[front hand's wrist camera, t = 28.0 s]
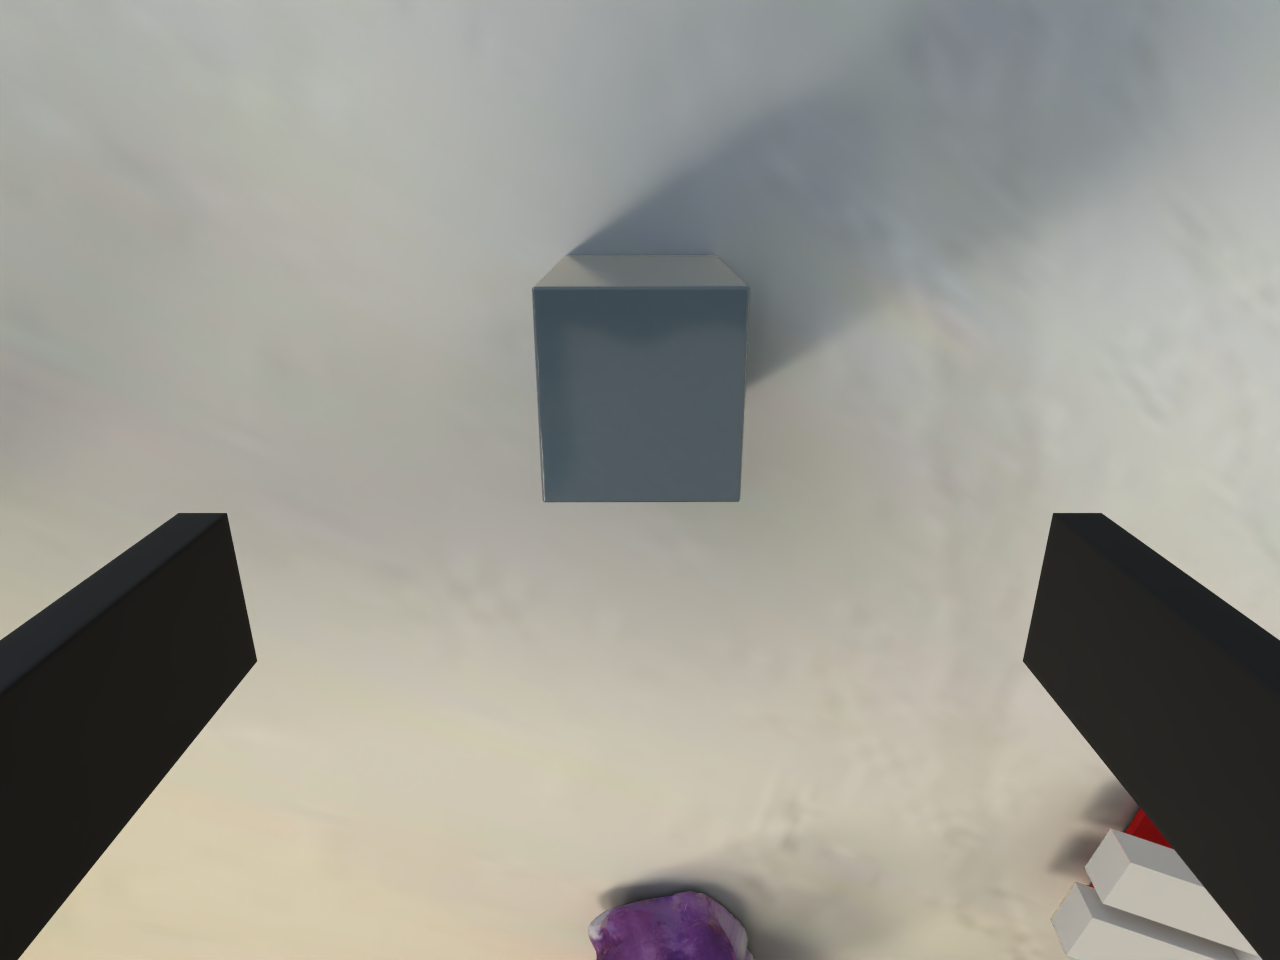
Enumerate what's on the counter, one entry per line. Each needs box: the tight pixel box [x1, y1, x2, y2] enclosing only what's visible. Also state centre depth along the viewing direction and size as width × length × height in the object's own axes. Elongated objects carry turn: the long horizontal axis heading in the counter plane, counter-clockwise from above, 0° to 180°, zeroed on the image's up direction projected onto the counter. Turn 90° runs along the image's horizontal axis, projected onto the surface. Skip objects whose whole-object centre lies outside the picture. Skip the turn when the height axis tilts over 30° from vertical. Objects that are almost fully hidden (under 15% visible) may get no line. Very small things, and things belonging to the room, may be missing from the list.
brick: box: [532, 255, 750, 502], centre depth 28 cm, size 6×6×10 cm
